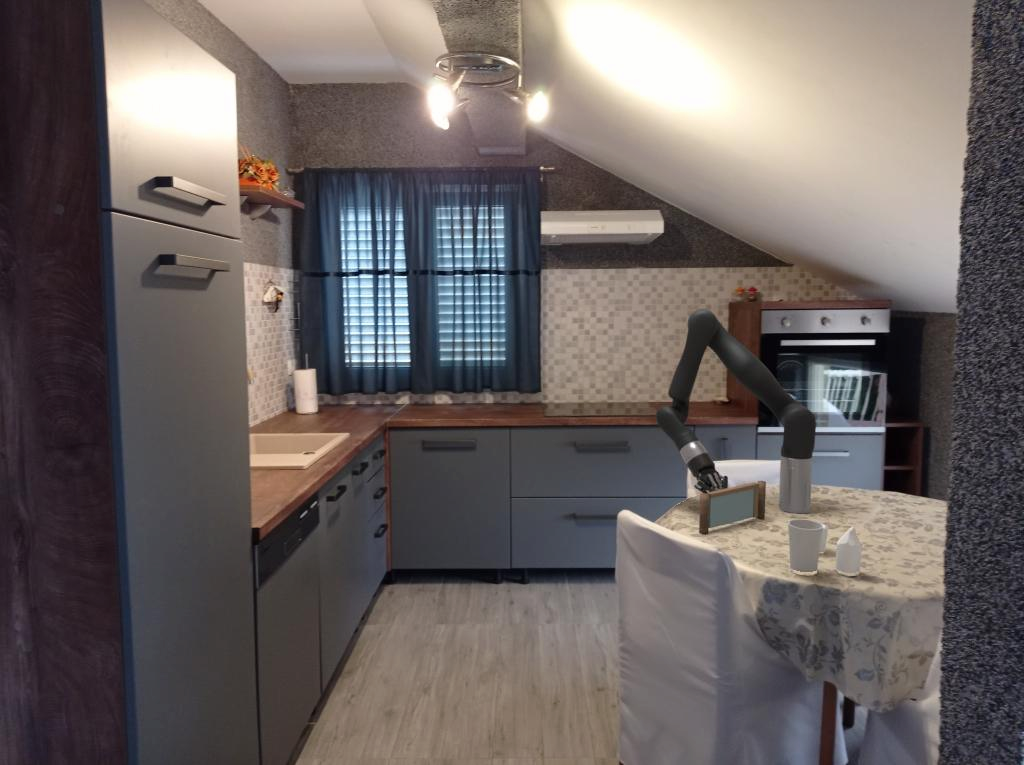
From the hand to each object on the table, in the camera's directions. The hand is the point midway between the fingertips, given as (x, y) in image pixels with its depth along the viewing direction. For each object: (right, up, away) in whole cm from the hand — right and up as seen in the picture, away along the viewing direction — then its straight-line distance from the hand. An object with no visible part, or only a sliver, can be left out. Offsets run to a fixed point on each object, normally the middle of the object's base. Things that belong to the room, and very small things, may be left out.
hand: (726, 506), depth 210 cm
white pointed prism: (+18, -10, -38) cm, 43 cm away
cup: (+8, -10, -36) cm, 39 cm away
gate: (+1, -4, -2) cm, 5 cm away
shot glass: (+16, -8, -23) cm, 29 cm away
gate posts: (+1, -5, -2) cm, 6 cm away
